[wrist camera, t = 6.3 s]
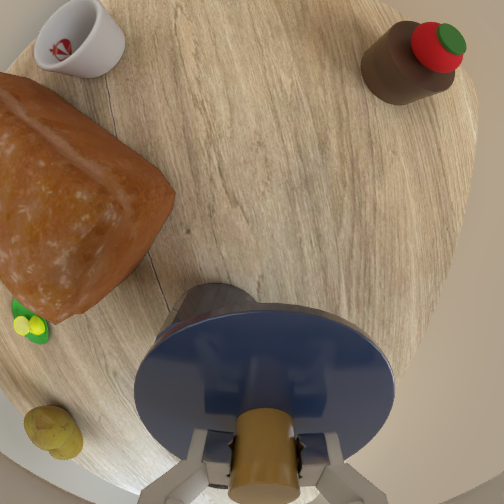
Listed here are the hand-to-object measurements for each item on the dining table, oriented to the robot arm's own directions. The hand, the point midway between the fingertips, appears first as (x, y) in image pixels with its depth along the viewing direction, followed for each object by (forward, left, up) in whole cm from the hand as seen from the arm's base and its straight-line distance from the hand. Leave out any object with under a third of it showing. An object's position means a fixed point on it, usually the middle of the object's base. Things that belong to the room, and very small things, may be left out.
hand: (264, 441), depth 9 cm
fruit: (+34, +32, -21) cm, 51 cm away
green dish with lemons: (+33, +11, -21) cm, 40 cm away
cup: (+19, -24, -21) cm, 37 cm away
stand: (-12, -21, -20) cm, 32 cm away
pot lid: (0, 0, -2) cm, 2 cm away
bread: (+22, -9, -21) cm, 31 cm away
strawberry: (-12, -21, -13) cm, 28 cm away
